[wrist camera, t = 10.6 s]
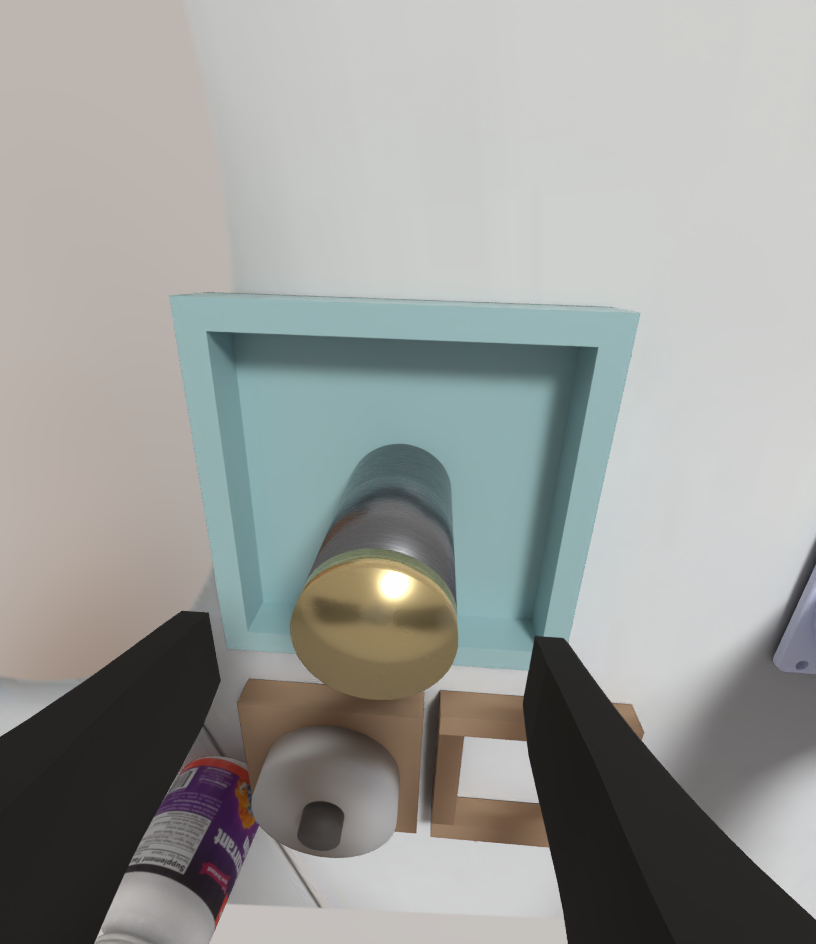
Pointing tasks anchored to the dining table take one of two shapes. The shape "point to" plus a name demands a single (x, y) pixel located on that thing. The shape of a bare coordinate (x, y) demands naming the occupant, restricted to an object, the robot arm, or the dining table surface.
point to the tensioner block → (374, 767)
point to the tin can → (383, 581)
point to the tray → (403, 422)
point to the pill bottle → (186, 859)
